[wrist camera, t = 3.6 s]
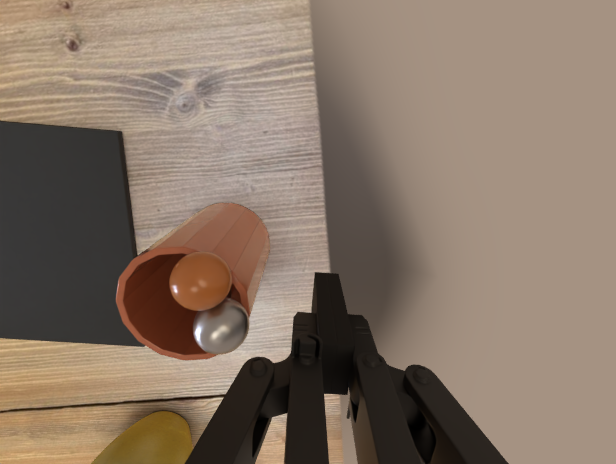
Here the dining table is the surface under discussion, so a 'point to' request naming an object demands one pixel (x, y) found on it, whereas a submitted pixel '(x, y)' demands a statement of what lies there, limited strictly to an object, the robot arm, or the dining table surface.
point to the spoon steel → (221, 327)
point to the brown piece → (200, 281)
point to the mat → (63, 234)
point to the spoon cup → (164, 256)
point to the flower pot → (151, 442)
